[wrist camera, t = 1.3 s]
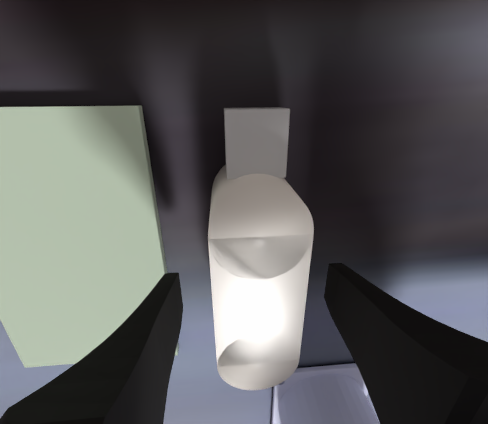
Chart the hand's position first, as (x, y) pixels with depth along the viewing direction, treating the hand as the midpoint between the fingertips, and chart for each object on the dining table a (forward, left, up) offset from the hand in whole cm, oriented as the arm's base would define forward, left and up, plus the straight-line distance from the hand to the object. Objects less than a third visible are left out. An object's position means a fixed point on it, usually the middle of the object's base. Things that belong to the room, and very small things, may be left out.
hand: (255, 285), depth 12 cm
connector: (+1, 0, -4) cm, 4 cm away
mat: (0, +10, -4) cm, 11 cm away
